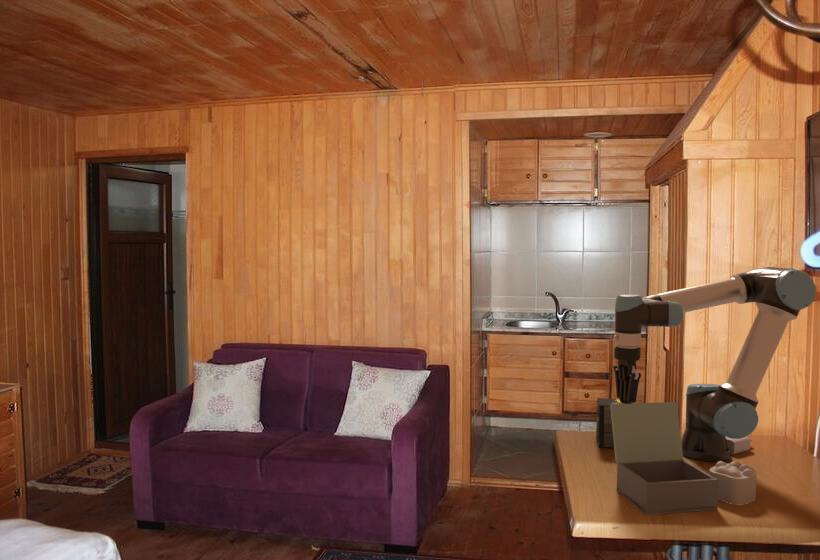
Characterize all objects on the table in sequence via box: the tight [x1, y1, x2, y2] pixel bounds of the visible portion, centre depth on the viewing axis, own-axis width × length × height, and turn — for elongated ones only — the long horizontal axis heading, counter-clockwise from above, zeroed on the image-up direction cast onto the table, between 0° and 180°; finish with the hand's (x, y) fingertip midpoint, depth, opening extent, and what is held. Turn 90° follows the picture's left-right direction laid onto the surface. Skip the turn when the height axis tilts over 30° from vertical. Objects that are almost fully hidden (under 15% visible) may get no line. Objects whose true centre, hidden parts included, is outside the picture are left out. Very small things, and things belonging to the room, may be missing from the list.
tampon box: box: [595, 397, 621, 449], centre depth 229 cm, size 11×9×15 cm
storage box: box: [616, 458, 719, 516], centre depth 180 cm, size 20×16×8 cm
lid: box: [610, 401, 684, 464], centre depth 190 cm, size 20×16×1 cm
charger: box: [725, 436, 753, 456], centre depth 226 cm, size 5×9×15 cm
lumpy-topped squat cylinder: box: [708, 460, 757, 505], centre depth 184 cm, size 10×13×9 cm
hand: (625, 423), depth 202 cm, fingers closed
